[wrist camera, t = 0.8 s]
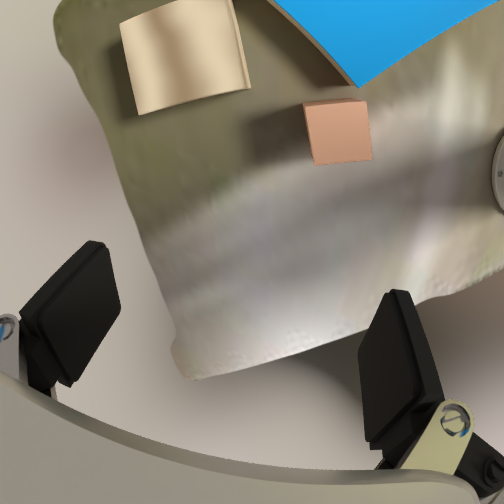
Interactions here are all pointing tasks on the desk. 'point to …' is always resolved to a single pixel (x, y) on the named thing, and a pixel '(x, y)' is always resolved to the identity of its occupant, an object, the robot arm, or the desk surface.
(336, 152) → the block
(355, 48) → the book
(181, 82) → the base
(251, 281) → the desk surface
